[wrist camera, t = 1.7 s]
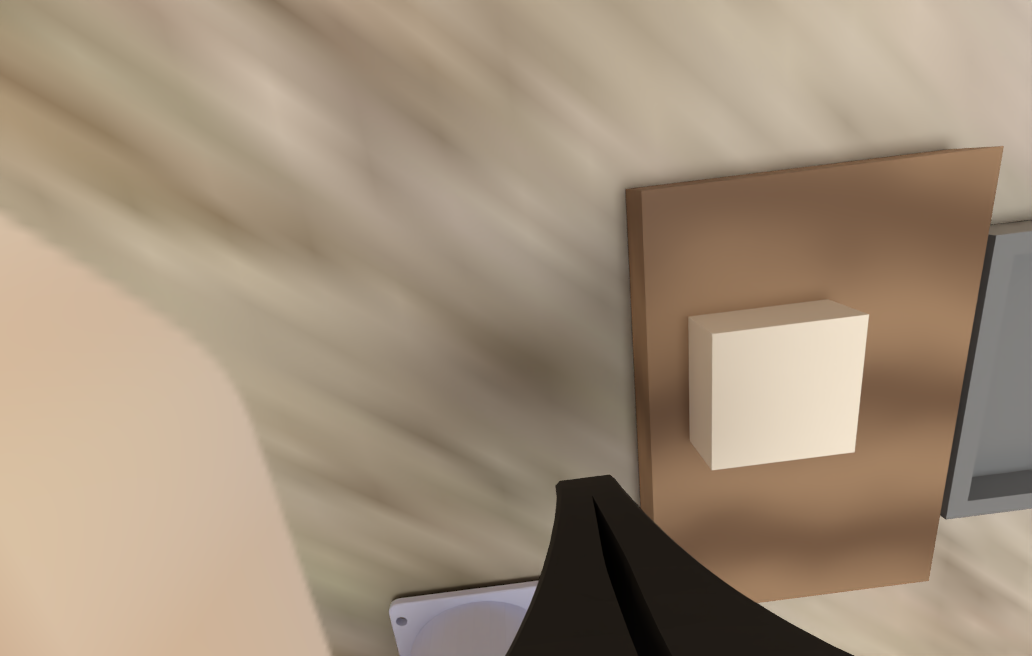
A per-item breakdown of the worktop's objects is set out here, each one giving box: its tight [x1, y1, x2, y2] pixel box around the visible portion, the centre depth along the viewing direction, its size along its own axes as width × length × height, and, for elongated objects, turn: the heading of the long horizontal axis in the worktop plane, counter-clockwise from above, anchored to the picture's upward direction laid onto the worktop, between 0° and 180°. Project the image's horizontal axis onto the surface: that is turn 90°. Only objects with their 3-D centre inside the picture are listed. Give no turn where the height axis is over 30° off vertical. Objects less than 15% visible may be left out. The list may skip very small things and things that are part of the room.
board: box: [626, 146, 1004, 603], centre depth 20 cm, size 18×12×2 cm, turn 7°
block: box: [688, 299, 869, 470], centre depth 17 cm, size 5×5×2 cm
